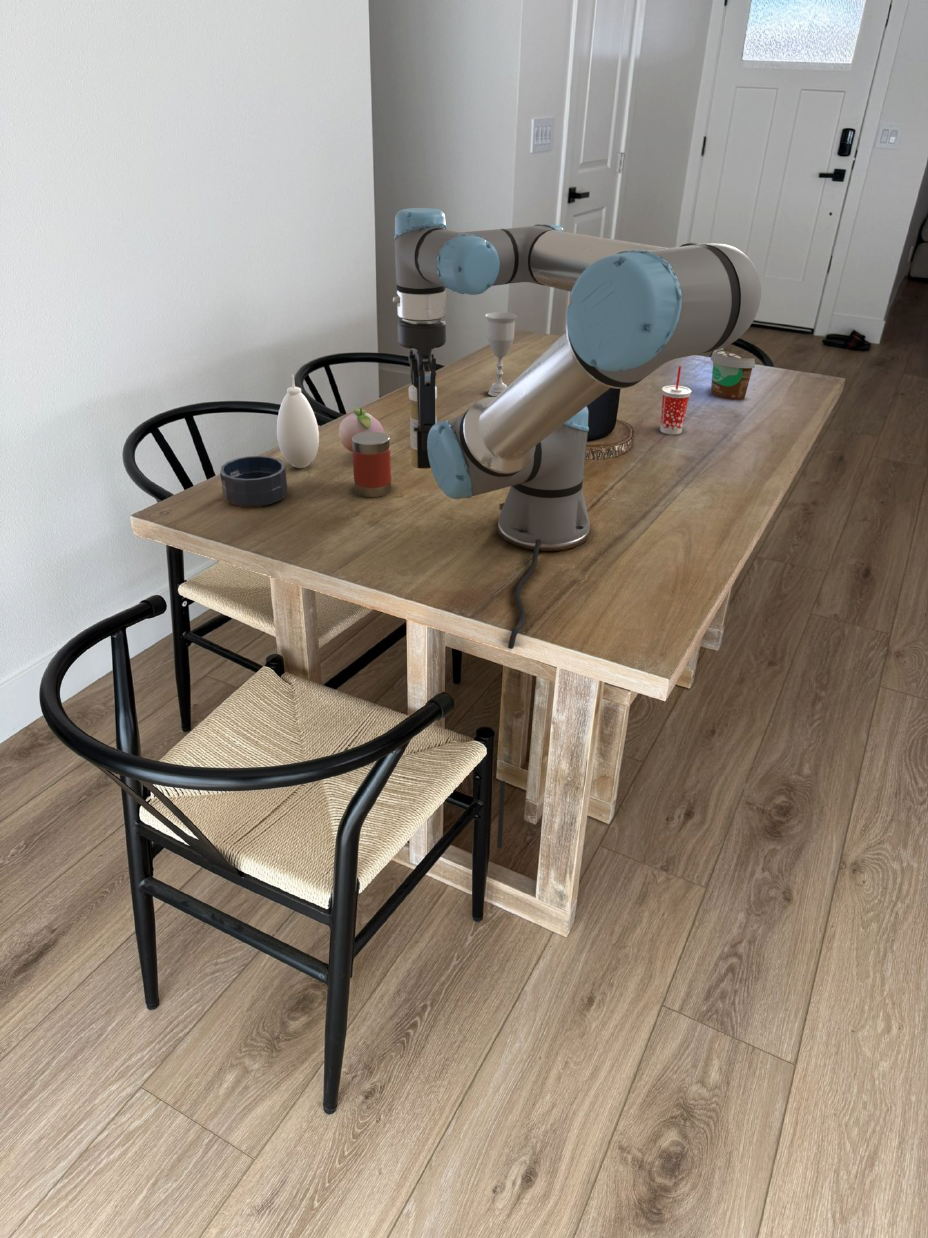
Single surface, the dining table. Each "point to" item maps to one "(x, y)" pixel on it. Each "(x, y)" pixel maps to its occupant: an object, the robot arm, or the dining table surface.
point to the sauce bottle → (297, 429)
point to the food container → (730, 375)
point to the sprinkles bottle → (415, 423)
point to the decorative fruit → (357, 426)
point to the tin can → (371, 464)
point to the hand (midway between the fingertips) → (423, 461)
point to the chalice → (500, 343)
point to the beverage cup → (674, 407)
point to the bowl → (254, 481)
